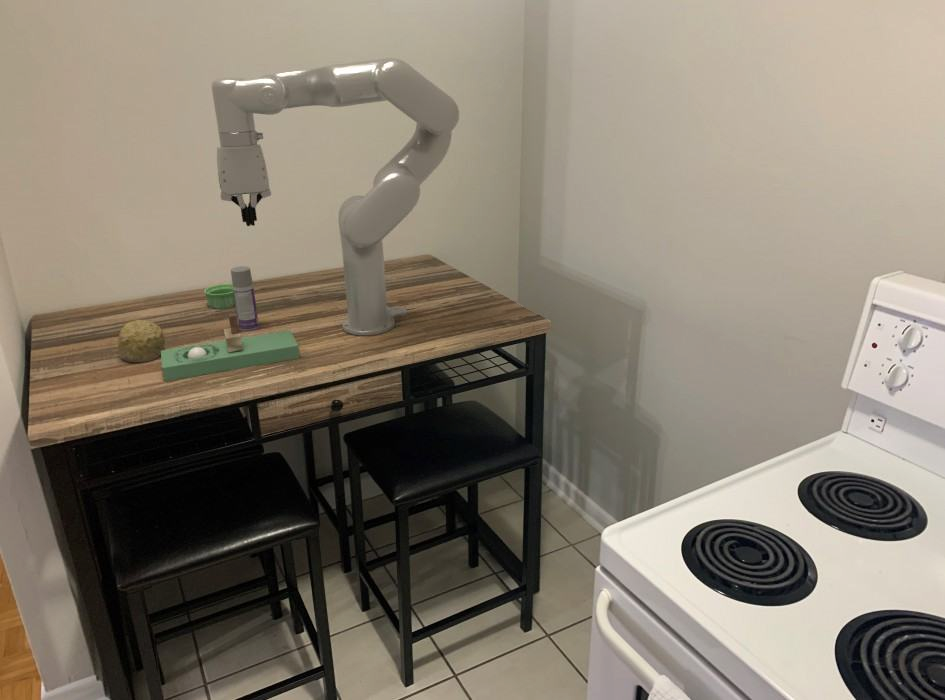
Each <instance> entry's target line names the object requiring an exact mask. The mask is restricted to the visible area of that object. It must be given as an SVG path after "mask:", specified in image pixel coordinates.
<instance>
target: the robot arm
mask: <svg viewBox="0 0 945 700" xmlns="http://www.w3.org/2000/svg"><path fill="white" fill-rule="evenodd" d="M211 92H212V98H213V99H212V100H213V106H214V111H215V117H216V123H217V124H216V126H217V130H218V137H219V144H220V146H218V147H217V148H216V165H217V174H218V175H217V176H218V182H219V183H218V184H219V188H220V199H221V200H222V201H225V202H233V203H234V204H236V206H238V207H239V208H240V215H241V219H242V223H245V225H246V227H251V226H255V225H256V224H255V222H256V221H258V219H257V210H256V208H257V205H258V204H259V203H260V201H261V200H263V199H265V198H269V197H270V196H272V191H271V189H270V180H269V174H268V170H267V164H266V161H265V157H264V153H263V148H262V147H261V144H258V142H259V141H260V140H263V139H264V135H263V134H264V133H263V132H258V131H257V130H256V126H255V125H256V124H255V119H254V118H255V117H254V114H259V115H265V116H266V115H267V116H269V115H270V116H274V115H277V114H279V113H281V112H282V111H283V110H286V109H292V108H293V109H294V108H300V107H310V106H312V107H314V106H322V107H323V106H324V107H331V108H341V107H349V106H356V105H362V104H363V105H365V104H372V103H380V102H385V101H387V102H389V103H391V105H393V106H394V107H395V108H396V109H398V110H399V111H400V112H402V113H403V114H405V115H406V116H407V117H409V118H410V119H411V120H413V121H414V122H415V123H416V127H415V131H414V133H413V135H412V137H411V138H410V139H409V140H408V141H407V143H406V144H405V145H404V146H403V148H402V149H400V150H399V152H397V154H396V155H394V157H392V158H391V159H390V160H389V161H388V162H387V163H386V164H385V165H384V166H383V167H381V168H380V169H378V171H377V173H376V174H375V176H374V177H373V183H372V185H373V187H372V188H371V189H370V190H368V191H367V193H366V194H365V195H354V196H351V197H348V198H347V199H345V200H344V202H343V203H342V204H341V206H340V208H339V209H338V217H337V218H338V220H337V221H338V227H339V229H338V230H339V235H340V243H341V251H342V252H341V253H342V254H341V255H342V262H343V275H344V285H345V296H346V309H347V317H346V319H344V320H343V322H342V329H343V332H344V331H345V332H346V333H348V334H351V335H356V336H373V335H380V334H383V333H386V332H388V331H390V330H392V329H393V328H394V326H395V324H396V323H395V318H396V317H403V316H404V317H405V316H407V315H408V311H407V308H406V307H399V306H398V305H396V306H393V307H392V306H391V307H389V305H388V300H387V287H386V276H385V275H386V273H385V255H384V245H383V240H384V238H385V237H387V236H388V235H389V234H390V233H391V232H392V231H393V230H394V229H395V228H396V227H397V226H398V225H399V224H400V223H401V222H402V221H403V220H404V219H405V218H406V217H407V216H408V215H409V214H410V213H411V212H412V211H413V209H414V208H415V207H416V206H417V204H418V202H419V199H420V195H421V188H420V186H421V185H422V184H423V183H424V182H425V181H426V180H427V179H428V178H429V177H430V175H432V174H433V172H434V171H436V169H437V168H438V167H439V166H440V164H441V163H442V162H443V160H444V159H445V157H446V155H447V153H448V151H449V148H450V144H451V141H452V136H453V135H452V133H453V130H454V129H455V128H456V126H457V124H458V123H459V120H460V110H459V107H458V106H459V105H457V102H456V101H455V99H454V98H452V96H450V95H448V93H446V92H445V91H443V90H442V89H441V88H440V87H438V86H437V85H435V84H434V83H433V82H431V81H430V80H429V79H427V78H426V77H425V76H424V75H422V74H421V73H420V72H418V71H417V70H416V69H415V68H414V67H412V66H411V65H410V64H408V63H407V62H406V61H405V60H402V59H399V58H393V57H388V58H379V59H371V60H370V59H369V60H362V61H355V62H347V63H338V64H332V65H324V66H320V67H317V68H311V69H310V68H309V69H303V70H295V71H286V72H280V73H270V74H264V75H262V76H260V77H257V78H251V79H245V78H242V77H225V78H222V77H221V78H217V79H215V80H213V81H212V84H211ZM247 194H248V195H249V197H248V198H249V200H248V201H249V202H248V203H245V199H244V197H243V195H247ZM247 205H248V206H247Z"/></svg>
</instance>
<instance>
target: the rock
mask: <svg viewBox="0 0 945 700" xmlns="http://www.w3.org/2000/svg"><path fill="white" fill-rule="evenodd" d="M165 344H166V340H165V333H164V331H163V329H162V328H161V327H160V326H159V325H158V324H156V323H154V322H152V321H150V320H142V319H137V320H132V321H129V322H127V323H125V325H124V326H122V328H121V330H120V332H119V334H118V337H117V345H118V354H119V358H120V359H121V360H123V361H126V362H130V363H131V362H132V363H145V362H150V361H154V360H156V359H158V358H159V357H161V351H162V350H165V346H164V345H165Z"/></svg>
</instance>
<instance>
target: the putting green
mask: <svg viewBox="0 0 945 700" xmlns="http://www.w3.org/2000/svg"><path fill="white" fill-rule="evenodd" d="M241 341H242V348H243V350H239V351H233V352H228V349H227V345H226V341H225V340H221V341H214V342H207V343H201V344H195V345H189V346H188V345H187V346H183V347H176V348H170V349H164V350H162V351H161V355H160V358H161V372H162V376H163V380H164V382H167V381H168V382H169V381H175V380H179V379H185V378H191V377H197V376H202V375H203V376H204V375H207V374H208V375H209V374H214V373H220V372H226V371H227V372H228V371H231V370H233V371H234V370H238V369H244V368H249V367H250V368H251V367H255V366H262V365H268V364H273V363H278V362H284V361H291V360H296V359H300V352H299V345H298V343H297V340H296V338H295V337H294V335H293V333H292V331H291V329H289V330H284V331H278V332H271V333H270V332H269V333H265V334H264V333H263V334H259V335H253V336H245V337H241ZM195 347H200V348H203V349H204V350H205V351H206V353H207V355H206V356H204V357H201V358H196V359H188V353H189V351H190V350H191V349H192V348H195Z"/></svg>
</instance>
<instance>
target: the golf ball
mask: <svg viewBox="0 0 945 700" xmlns="http://www.w3.org/2000/svg"><path fill="white" fill-rule="evenodd" d="M206 355H207V353H206V351H205V350H204V349H203V348H200V347H195V348H192V349H191V350H190V351H189V353H188V359H196V358H201V357H204V356H206Z"/></svg>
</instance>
